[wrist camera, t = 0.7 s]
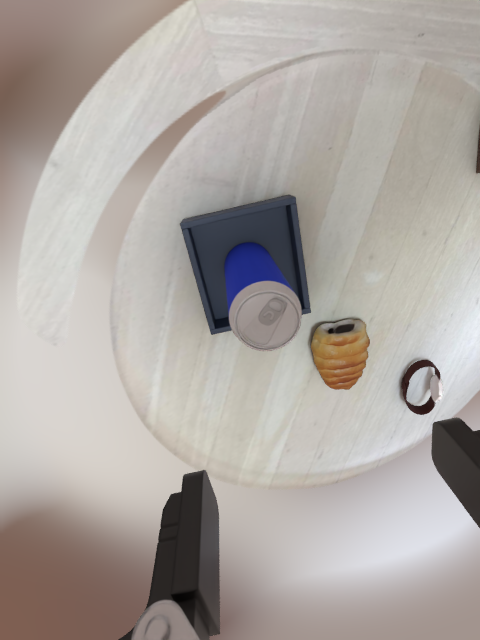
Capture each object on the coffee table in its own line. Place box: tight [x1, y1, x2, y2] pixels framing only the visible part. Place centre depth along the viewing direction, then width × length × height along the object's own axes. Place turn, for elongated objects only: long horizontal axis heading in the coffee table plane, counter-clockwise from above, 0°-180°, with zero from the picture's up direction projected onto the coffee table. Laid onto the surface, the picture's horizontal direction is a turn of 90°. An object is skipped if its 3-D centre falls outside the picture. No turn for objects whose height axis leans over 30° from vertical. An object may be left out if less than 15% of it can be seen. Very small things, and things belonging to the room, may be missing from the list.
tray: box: [180, 195, 311, 335], centre depth 35 cm, size 12×11×3 cm
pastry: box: [311, 319, 370, 389], centre depth 40 cm, size 9×7×4 cm
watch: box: [402, 360, 443, 415], centre depth 43 cm, size 8×5×4 cm, turn 5°
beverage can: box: [224, 242, 302, 351], centre depth 29 cm, size 5×5×15 cm
